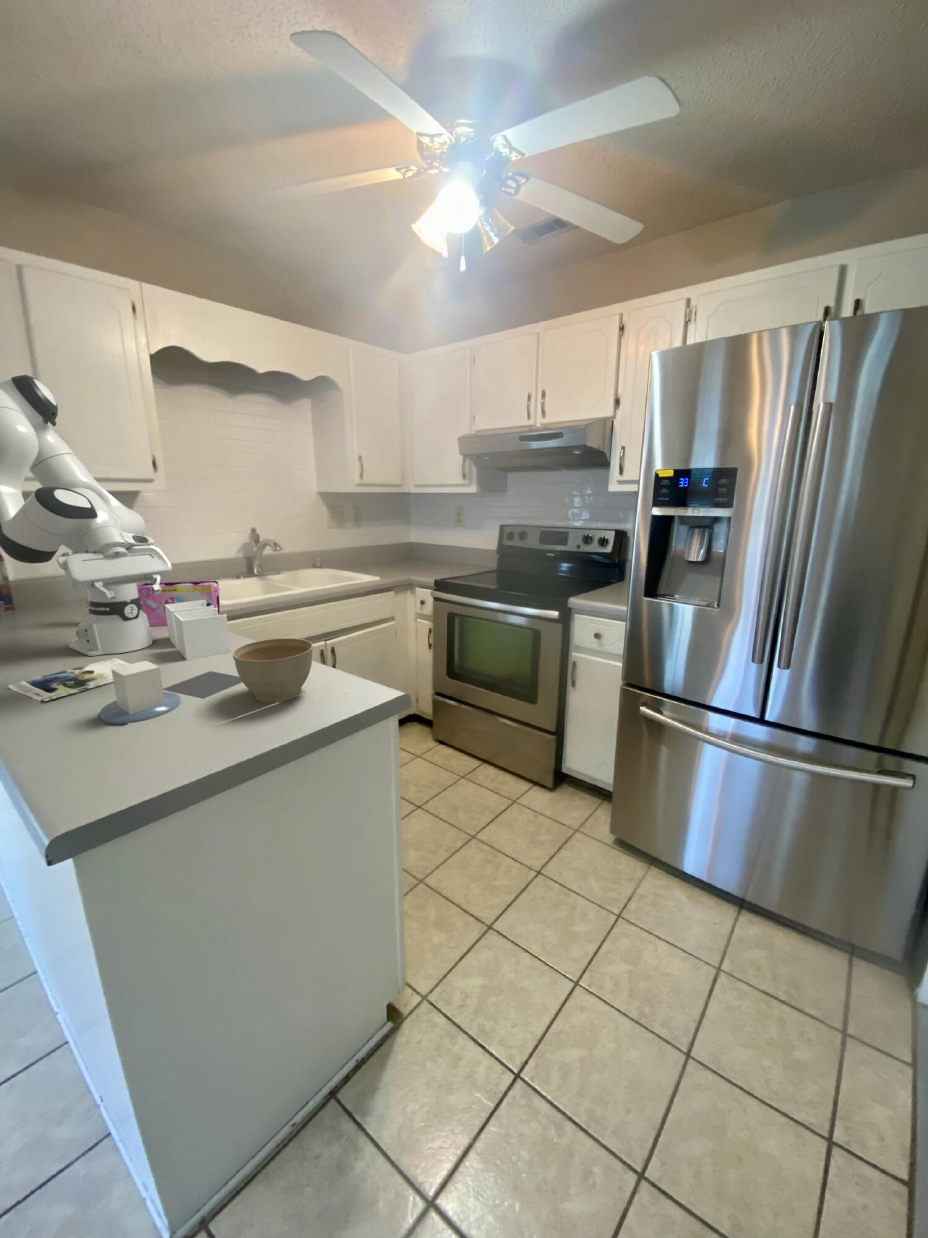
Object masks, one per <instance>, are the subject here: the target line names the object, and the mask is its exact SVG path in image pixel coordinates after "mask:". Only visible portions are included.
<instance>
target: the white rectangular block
mask: <svg viewBox="0 0 928 1238" xmlns="http://www.w3.org/2000/svg"><path fill="white" fill-rule="evenodd" d="M160 668H161V667H160V666H158V665H156V664H154V663H152V662H150V661H148V660H144V661H143V660H142V661H139V662H135V663H130V664H126V665H121V666H118V667H112V668H111V676H112V680H113V686H114V692H115V697H116V700H117V704H118V706H119V707H120V708H122V709H123V710H125V711H126V712H128V713H129V714H132V713H136V712H139V711H143V710H146V709H149V708H153V707H156V706H159V705H163V704H165V701H164V694H163V692H164V690H163V689H164V688H163V682H162V675H161V674H162V673H161V669H160Z"/></svg>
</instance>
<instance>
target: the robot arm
mask: <svg viewBox="0 0 928 1238" xmlns="http://www.w3.org/2000/svg"><path fill="white" fill-rule="evenodd" d="M58 408H59V407H58V403H57V402H56V399H55V396H54V395H53V394H52V392H51V391H50V390H49V388H48V387H47V386H46V385H44V384H43V383H42V382H40V381H39V380H37V379H36V378H35V377H34V376H31V375H28V374H22V375H21V374H20V375H16V376H12V377H11V379H8V380H4V381H1V382H0V549H2V551H3V552H4V553H5V554H6V555H7V556H8V557H10V558H11V559H13V560H14V561H17V562H20V563H25V564H44V563H48V562H50V561H52V560H53V558H54V557H55V556H56V553H57V552H58V551H59V549H60V548H61V546H62V545H63V546H64V547H65V548H67V549H68V550H70V551H71V552H68V551H67V552H63V553H61V555H59V556H57V557H56V562H57V564H58V566H59V567H60V569H62V570H64V576H65V580H66V581H67V583H68V585H69V588H70V589H72V590H73V591H76V592H80V591H87V590H89V591H90V596H91V601H90V602H89V601H86V604H87V605H86V606H87V607H88V615H87V616H86V617H85V618H84V619H83V620H82V621H81V622H80V623H79V624H78V625H77V627H76V630H75V635H76V637H77V640H75V641H73V642H70V643H68V648H69V649H72V650H74V651H77V652H79V653H81V654H84V656H85V655H86V656H88V657H92V656H93V657H94V656H101V655H113V654H121V653H122V654H123V653H127V652H135V651H138V650H142V649H145V648H147V647H149V646H151V645H152V644H153V641H155V640H156V636H155V634H152V632H151V631H152V630H151V627H149V623H148V620H147V616H146V614H145V613H144V612H142V610H141V609H142V601H141V598H140V596H138V589H137V587H138V585H137V584H138V583H139V584H140V583H148V582H150V583H152V584H154V583H155V585H152V588H151V592H152V593H153V595H157V594H161V592H162V589H161V587H160V585H159V583H161V580H167V579H169V577H170V575H171V573H172V571H173V567H172V564H171V562H170V561H169V559H168V558H167V556H166V555H165V554H164V552H163V551H162V550H161V549H160V548H159V547H157V546H154V540H153V538H152V537H151V536H146V535H145V533H146V523H145V521H144V518H143V517H142V516H141V515H140V514H139V513H138V512H136V511H134V510H133V509H131V508H128V507H127V506H125V505H124V504H123V503H121V502H120V501H119V500H118V499H117V498H116V497H114V496H113V495H112V494H111V493H110V492H108V491H107V490H106V489H105V487H103V486H102V485H100V483H98V481H97V480H96V479H95V478H94V477H93V475H92V474H91V473H90V472H89V471H88V469H87V467H85V465H84V464H83V463H82V461H81V460H80V459H79V458H78V456H77V455H76V454H75V452H74V451H73V450H72V449H71V447H70V446H69V445H68V444H67V442H65V441H64V439H62V437H61V436H59V434H57V433H56V432H55V431H54V429H52V427H49V425H48V424H50V425H51V426H53V427H56V426H57V421H56V419H57V417H58V416H59V415H58V412H59V409H58ZM29 471H30V473H31V474H32V476H34V478H35V479H36V481H37V482H38V483H39V484H40V486H41V487H38V488H36V489H35V490H34V491H33V493H31V495H30V496H29V497H28V499H26V501H25V499H24V497H23V486H24V483H25V482H24V481H25V479H26V477H27V475H28V474H29ZM89 603H90V604H89Z"/></svg>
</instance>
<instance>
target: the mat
mask: <svg viewBox="0 0 928 1238" xmlns="http://www.w3.org/2000/svg"><path fill="white" fill-rule="evenodd" d="M241 683H243V682H242V680H241V678H240V677H239V675H238V676H237V675H233V674H226V673H221V672H216V671H212V670H209V671H207V672H205V673H201V674H198V675H196V676H193V677H191V678H189V679H186V680H183V681H181V682H177V683H175V684H172V685H169V686H167V687H164V688H163V691H165V692H170V693H174V694H179V695H180V694H181V695H185V696H190V697H194V698H199V699H203V700H204V699H206V698H209V697H211V696H214V695H215V694H218V693H221V692H223V691H224V690H228V689H230V688H233V687H234V686H237V685H239V684H241Z"/></svg>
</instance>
